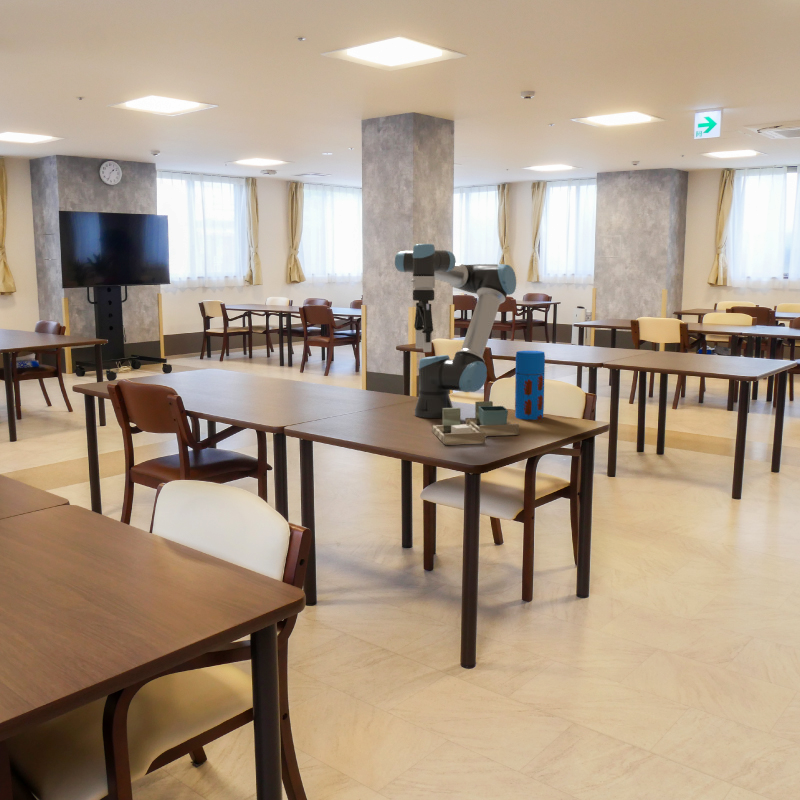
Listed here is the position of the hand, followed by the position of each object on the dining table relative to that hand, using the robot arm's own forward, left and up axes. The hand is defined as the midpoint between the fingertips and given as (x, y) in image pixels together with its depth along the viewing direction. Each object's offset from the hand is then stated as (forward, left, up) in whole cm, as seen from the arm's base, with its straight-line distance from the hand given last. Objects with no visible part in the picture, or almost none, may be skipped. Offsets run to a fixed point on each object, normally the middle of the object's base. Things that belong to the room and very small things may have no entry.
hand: (423, 350), depth 292 cm
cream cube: (+21, +9, -29) cm, 36 cm away
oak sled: (+5, +24, -28) cm, 37 cm away
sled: (+16, +9, -28) cm, 34 cm away
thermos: (-17, +44, -29) cm, 55 cm away
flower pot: (+11, +22, -29) cm, 38 cm away
